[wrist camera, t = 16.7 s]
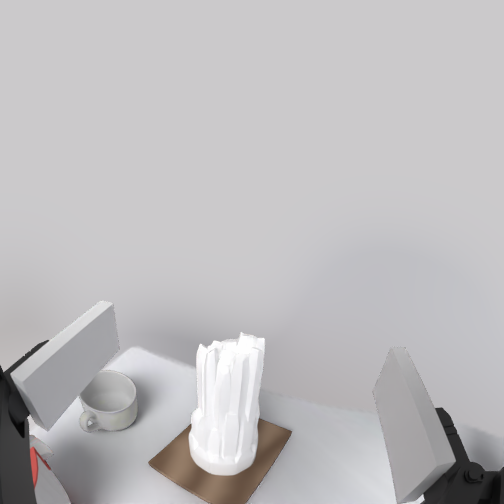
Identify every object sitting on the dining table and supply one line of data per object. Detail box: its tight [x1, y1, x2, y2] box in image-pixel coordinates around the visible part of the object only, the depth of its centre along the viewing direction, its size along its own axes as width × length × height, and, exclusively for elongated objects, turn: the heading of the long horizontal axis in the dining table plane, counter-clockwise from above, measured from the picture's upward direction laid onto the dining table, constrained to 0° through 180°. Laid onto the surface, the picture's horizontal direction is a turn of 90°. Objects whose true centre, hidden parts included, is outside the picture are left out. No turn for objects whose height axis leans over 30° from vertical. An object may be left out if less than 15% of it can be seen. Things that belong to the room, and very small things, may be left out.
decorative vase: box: [189, 332, 265, 476], centre depth 35 cm, size 11×11×25 cm
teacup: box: [78, 370, 138, 433], centre depth 40 cm, size 14×11×8 cm
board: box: [148, 418, 292, 504], centre depth 39 cm, size 16×20×1 cm
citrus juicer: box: [29, 435, 71, 504], centre depth 15 cm, size 16×17×20 cm
